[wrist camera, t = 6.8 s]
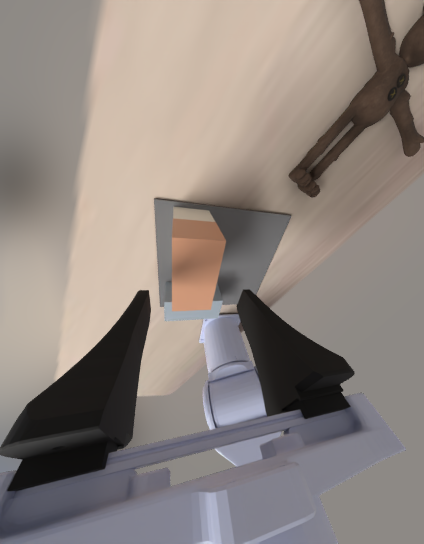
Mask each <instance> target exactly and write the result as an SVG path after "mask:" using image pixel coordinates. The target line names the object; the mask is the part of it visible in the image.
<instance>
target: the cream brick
mask: <svg viewBox="0 0 424 544" xmlns="http://www.w3.org/2000/svg"><path fill="white" fill-rule="evenodd" d="M173 218H175V219H186V220H197V221H209V222H215V220H214V219H213V217H212V215H211V213H210V211H209V210H201V209H192V208H183V207H174V210H173Z"/></svg>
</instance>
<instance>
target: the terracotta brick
mask: <svg viewBox="0 0 424 544" xmlns="http://www.w3.org/2000/svg"><path fill="white" fill-rule="evenodd" d="M225 244H226V240H225V238H224V236H223V234H222V232H221V231H220V229H219V227H218V225H217V223H216V222H209V221H197V220H186V219H175V218H173V226H172V311H194V310H211V307H212V302H213V298H214V293H215V289H216V284H217V280H218V276H219V271H220V267H221V262H222V258H223V253H224V249H225Z"/></svg>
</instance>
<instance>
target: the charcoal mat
mask: <svg viewBox="0 0 424 544" xmlns="http://www.w3.org/2000/svg"><path fill="white" fill-rule="evenodd" d="M154 206H155V224H156V242H157V260H158V278H159V296H160V307H164V298H165V285H166V282H172V226H173V210H174V207H183V208H192V209H201V210H209V211H210V213H211V215H212V217H213V219H214V220H215V222H216V223H217V225H218V227H219V229H220V231H221V232H222V234H223V236H224V238H225V240H226V244H225V249H224V253H223V258H222V262H221V267H220V271H219V276H218V280H217V283H218V286H219V290H220V293H221V296H222V299H223V302H222V305H230V304H238V301H239V299H240V296H241V293H242V291H243V289H250V290H251V291H252V292H253V293H254V294H255V295H256V293H257V291H258V289H259V287H260V284H261V282H262V280H263V278H264V276H265V273H266V271H267V269H268V267H269V265H270V262H271V260H272V258H273V256H274V254H275V251H276V249H277V247H278V245H279V242H280V240H281V238H282V236H283V234H284V231H285V229H286V227H287V225H288V223H289V220H290V218H291V215H285V214H276V213H268V212H260V211H252V210H244V209H236V208H227V207H219V206H211V205H203V204H195V203H187V202H178V201H170V200H162V199H154Z"/></svg>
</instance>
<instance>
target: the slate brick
mask: <svg viewBox="0 0 424 544" xmlns="http://www.w3.org/2000/svg"><path fill="white" fill-rule="evenodd" d="M222 302H223V299H222V296H221V293H220V290H219V286H218V283H217V284H216V289H215V293H214V298H213V302H212V307H211V310H194V311H172V282H166V285H165V298H164V313H165V321H177V320H196V319H214V318H218V316H219V313H220V309H221V306H222Z"/></svg>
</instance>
